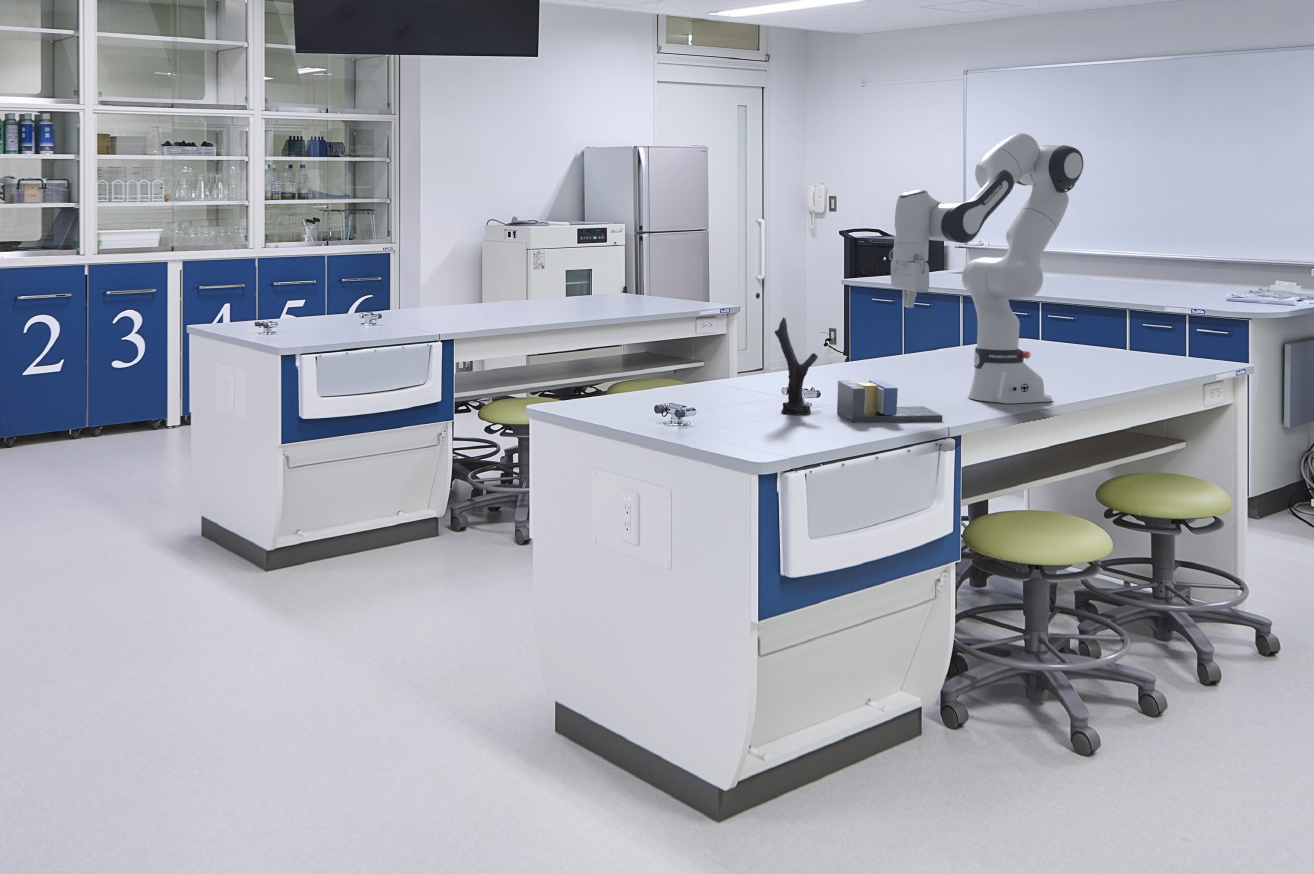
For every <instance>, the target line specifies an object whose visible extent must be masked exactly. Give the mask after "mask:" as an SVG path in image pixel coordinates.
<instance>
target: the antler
mask: <svg viewBox="0 0 1314 874" xmlns="http://www.w3.org/2000/svg"><path fill="white" fill-rule="evenodd" d="M774 335H775V336H776V337H777V339H778V341H779V344H780V348H781V351H782V353H783V355H784V358H785V361H786V362H787V371H788V383H787V389H786V392H787V394H788V396H787V399H788V401H786V402H785V401H784V402H782V409H781V411H780V413H782V414H787V415H790V416H801V415H803V416H804V415H809V414H811V413H812V410H811V406H810V405H809V404H807V403H806V404H805V403H804V400H803V386H804V379H805V377H806V376H807V374H808V371H809V369H810V367H812V366H813V364H814V363H815V362H816V361H817V359H818V357H819V355H818V354H816V353H811V354H810V355H809V357H807V359H806V360H805V361H804V362H802V363H799V361H798V359H797V357H796V353H795V351H794V348H793V346H792V343H791V341H790V339H791V338H790V336H789V332H788V324H787V320H786V317H782V319H781V320H780V322H779V325H778V329H777V330H775V331H774Z"/></svg>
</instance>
